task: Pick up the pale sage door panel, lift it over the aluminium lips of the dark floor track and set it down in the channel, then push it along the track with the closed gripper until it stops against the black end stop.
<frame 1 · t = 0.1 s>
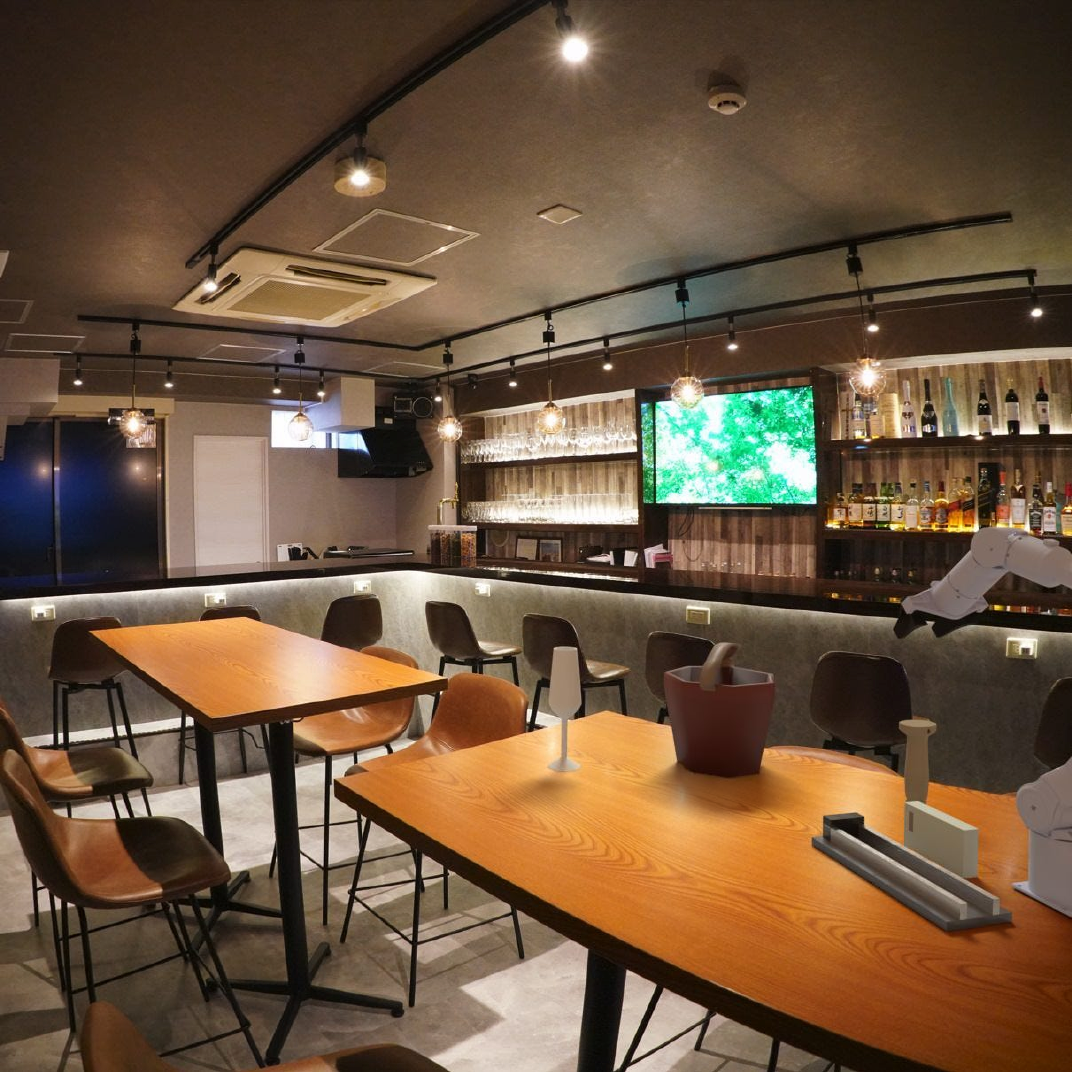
hand: (916, 633, 138), 32 cm above the table, tool tilted 50°, fingers open, 7 cm apart
floor track: (901, 879, 117), on the table
door panel: (938, 861, 123), on the table
handle: (915, 808, 146), on the table
champagne flute: (564, 767, 168), on the table
bucket: (722, 766, 170), on the table
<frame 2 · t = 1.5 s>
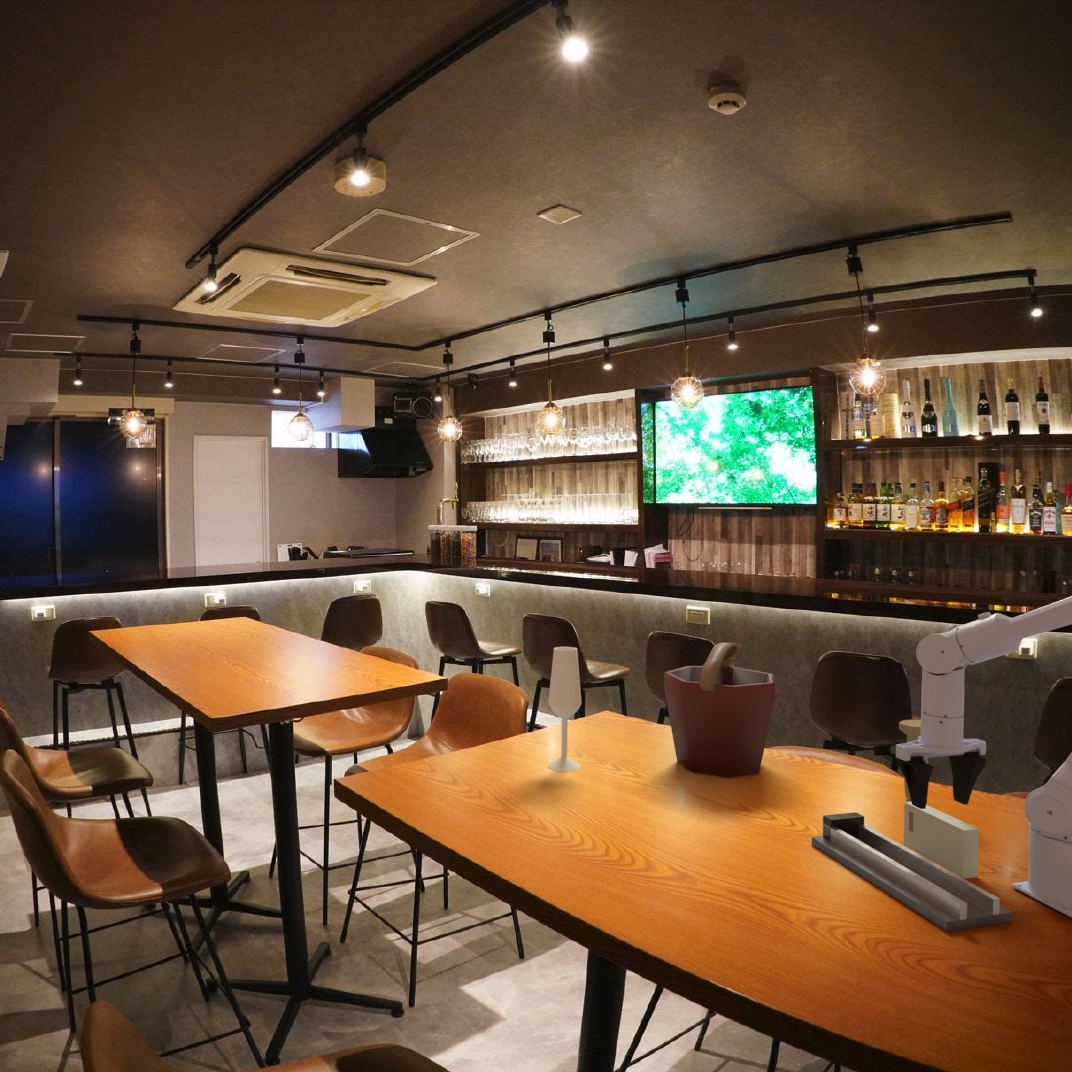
hand: (939, 804, 123), 8 cm above the table, tool pointing down, fingers open, 7 cm apart
nothing on the table moved.
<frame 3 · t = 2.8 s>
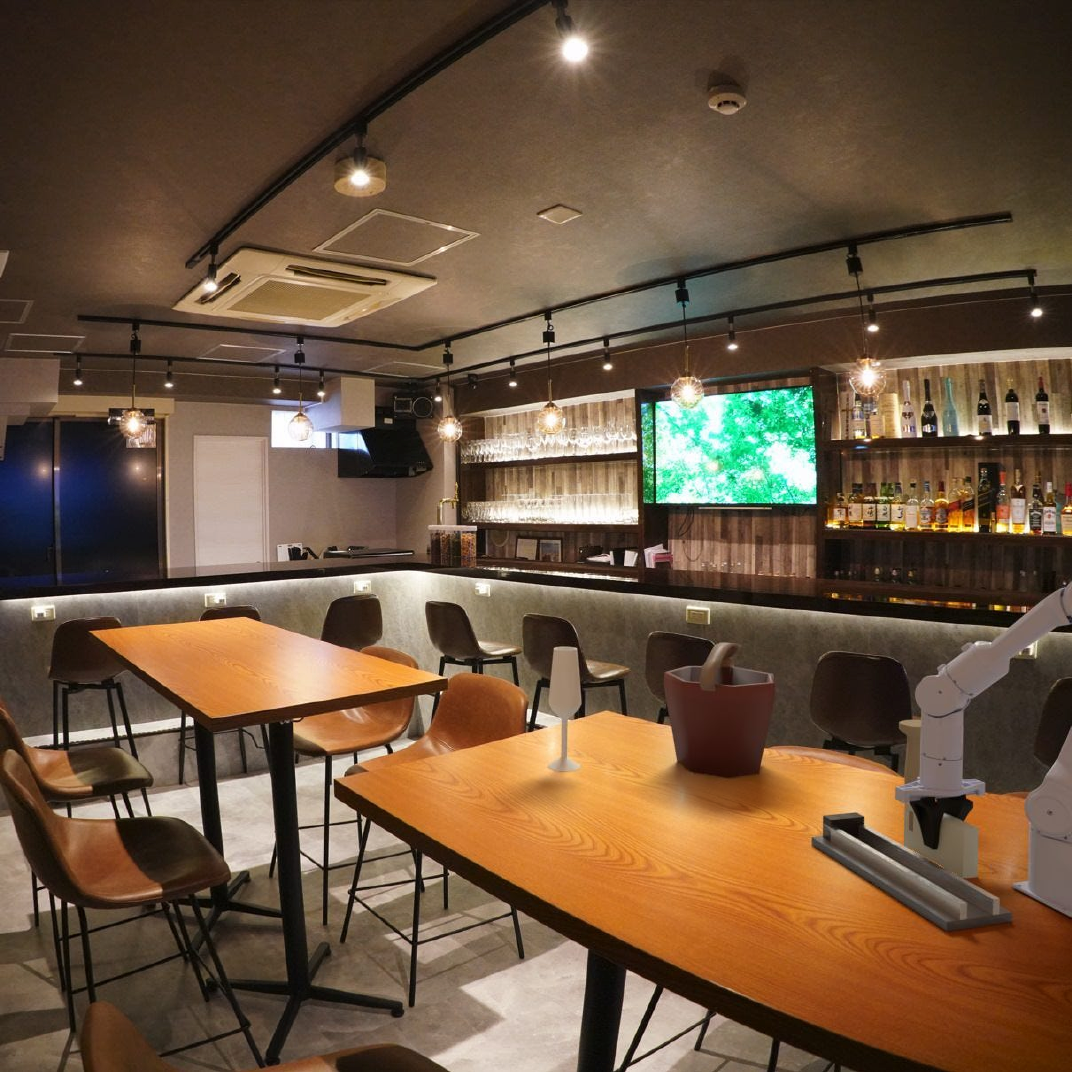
hand: (939, 845, 123), 2 cm above the table, tool pointing down, fingers closed on door panel, 2 cm apart
door panel: (938, 860, 123), on the table, touching gripper
everything else where it was.
when the fingers open (5 cm above the table, at t = 6.3 s): door panel stays where it is, resting on floor track.
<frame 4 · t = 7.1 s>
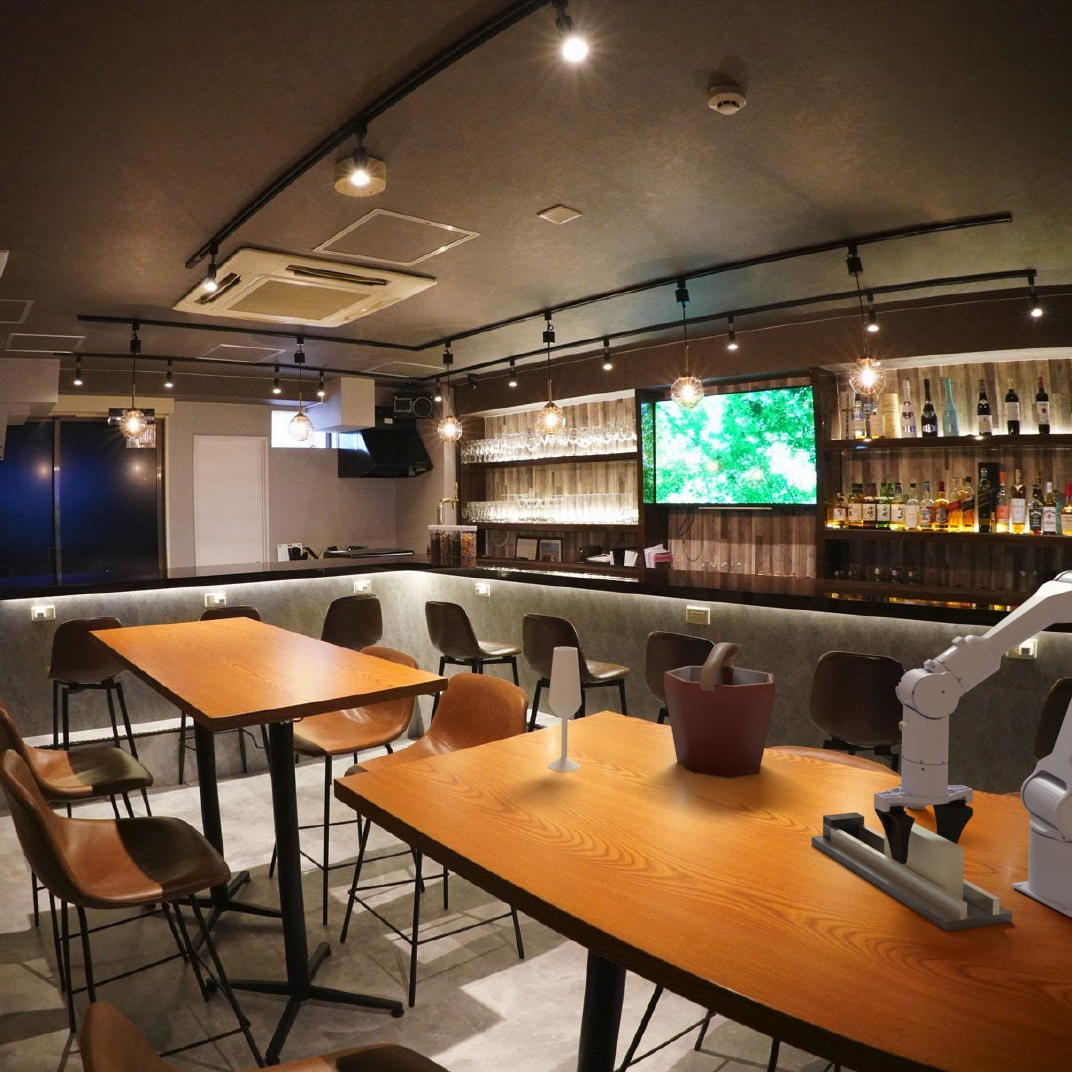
hand: (922, 858, 113), 5 cm above the table, tool pointing down, fingers open, 7 cm apart
door panel: (921, 882, 113), point 1 cm above the table, touching floor track
everything else where it was.
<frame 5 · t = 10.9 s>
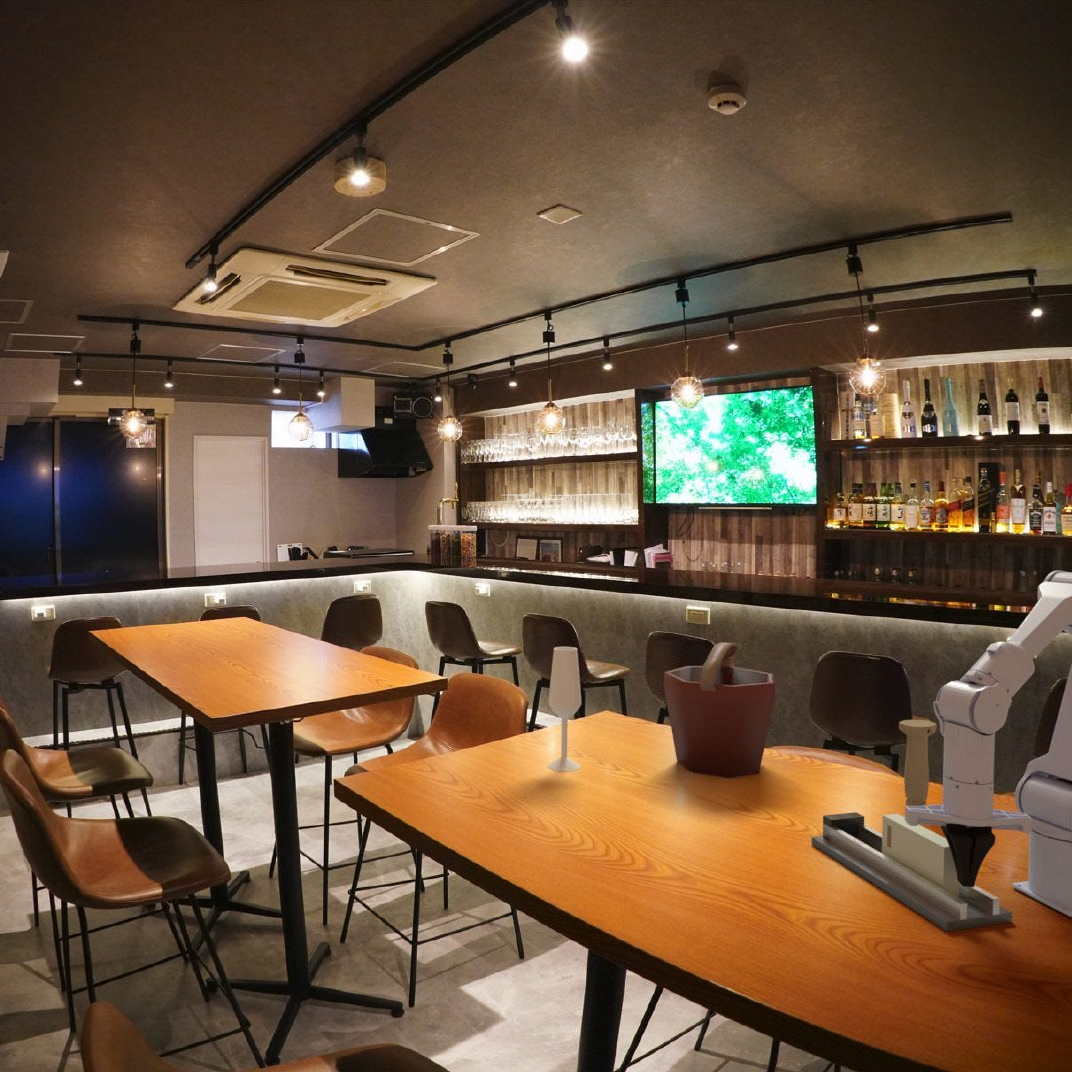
hand: (965, 883, 106), 4 cm above the table, tool pointing down, fingers closed
door panel: (918, 880, 114), point 1 cm above the table, touching gripper
everything else where it was.
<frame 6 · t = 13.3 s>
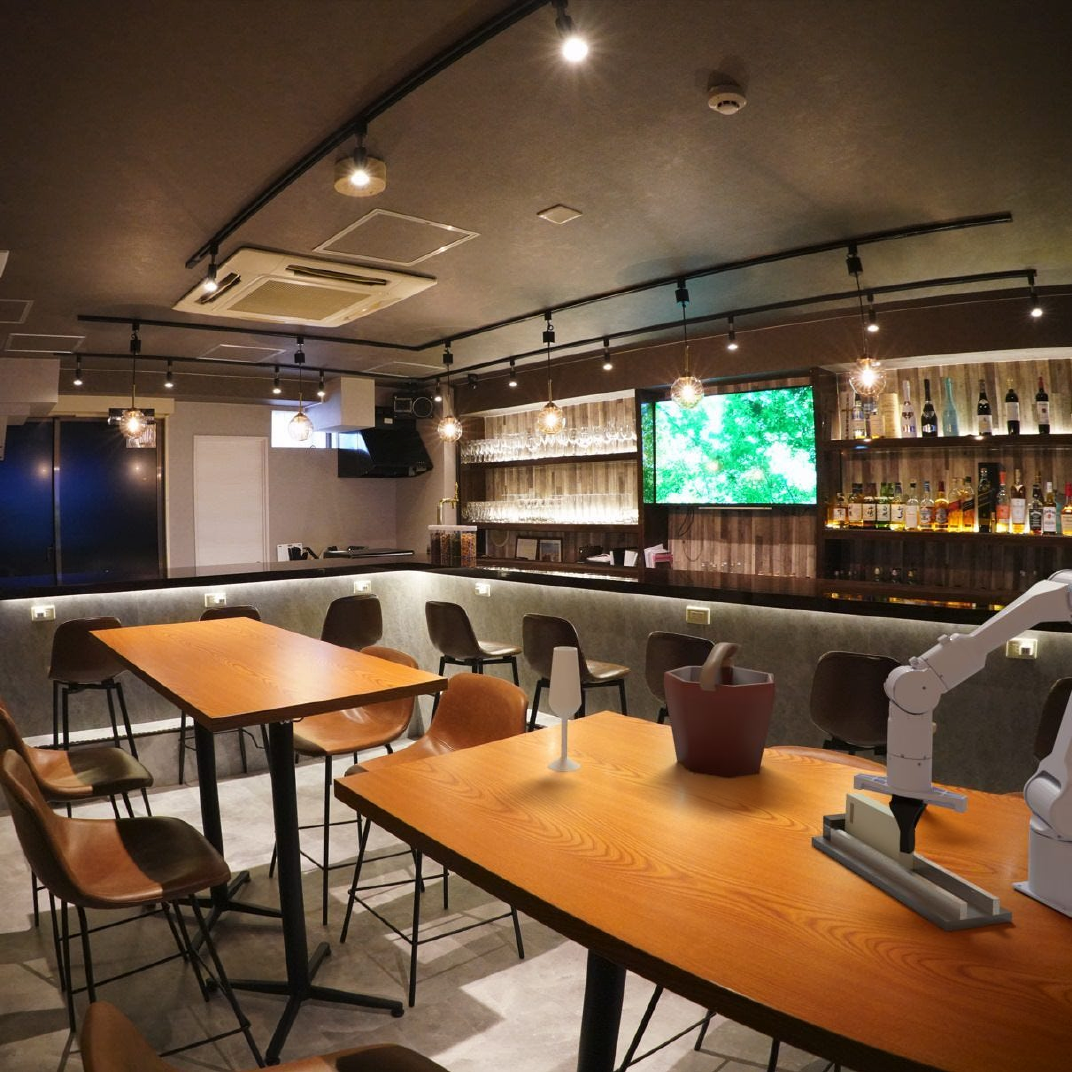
hand: (906, 851, 115), 5 cm above the table, tool pointing down, fingers closed, pressing on door panel
door panel: (877, 853, 123), point 1 cm above the table, touching floor track, gripper
everything else where it was.
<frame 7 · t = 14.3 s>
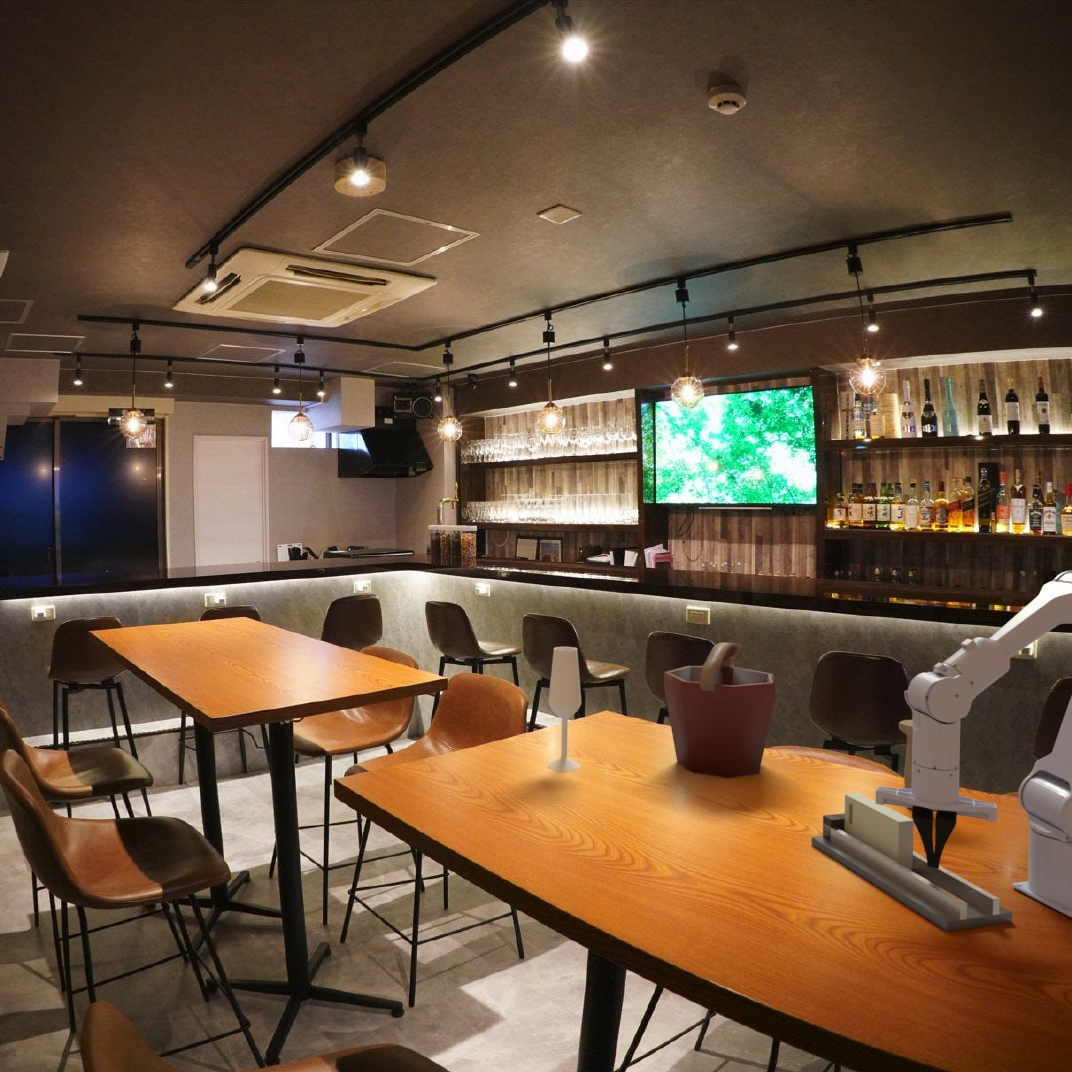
hand: (933, 864, 111), 4 cm above the table, tool pointing down, fingers closed
door panel: (877, 853, 123), point 1 cm above the table, touching floor track
everything else where it was.
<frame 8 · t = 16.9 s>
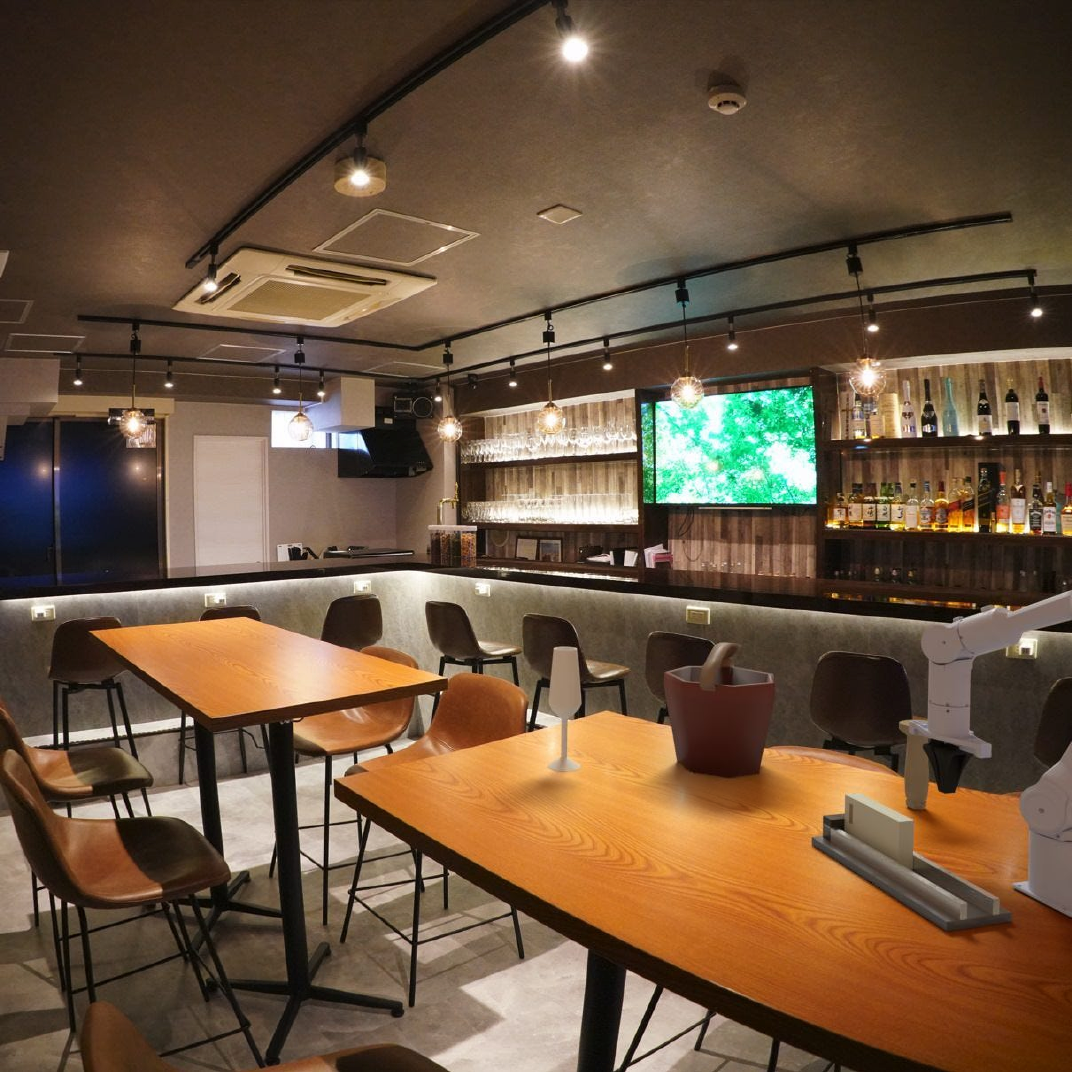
hand: (946, 792, 126), 9 cm above the table, tool pointing down, fingers closed
nothing on the table moved.
at the end: door panel 0.9 cm from the target spot, point 1.2 cm above the table; door panel tilted 0°; the gripper is holding nothing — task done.
